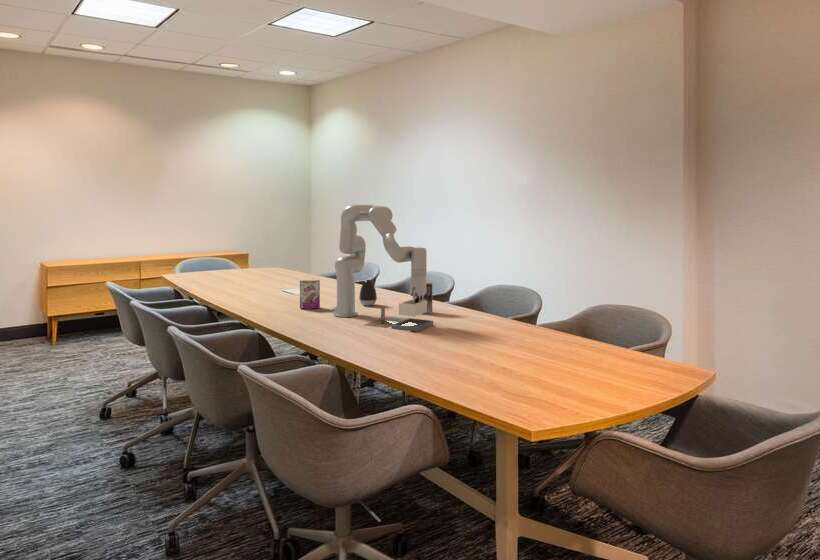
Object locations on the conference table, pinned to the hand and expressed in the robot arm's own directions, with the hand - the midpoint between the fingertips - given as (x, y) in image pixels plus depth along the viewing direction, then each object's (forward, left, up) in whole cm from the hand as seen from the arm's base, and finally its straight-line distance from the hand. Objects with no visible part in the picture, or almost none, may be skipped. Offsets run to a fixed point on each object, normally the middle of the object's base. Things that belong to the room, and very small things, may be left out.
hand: (418, 309), depth 301 cm
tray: (0, -6, -8) cm, 10 cm away
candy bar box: (-74, +13, -8) cm, 76 cm away
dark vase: (-50, +37, -8) cm, 63 cm away
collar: (0, -6, -1) cm, 6 cm away
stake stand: (-16, -7, -8) cm, 19 cm away
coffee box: (-11, +31, -8) cm, 34 cm away
